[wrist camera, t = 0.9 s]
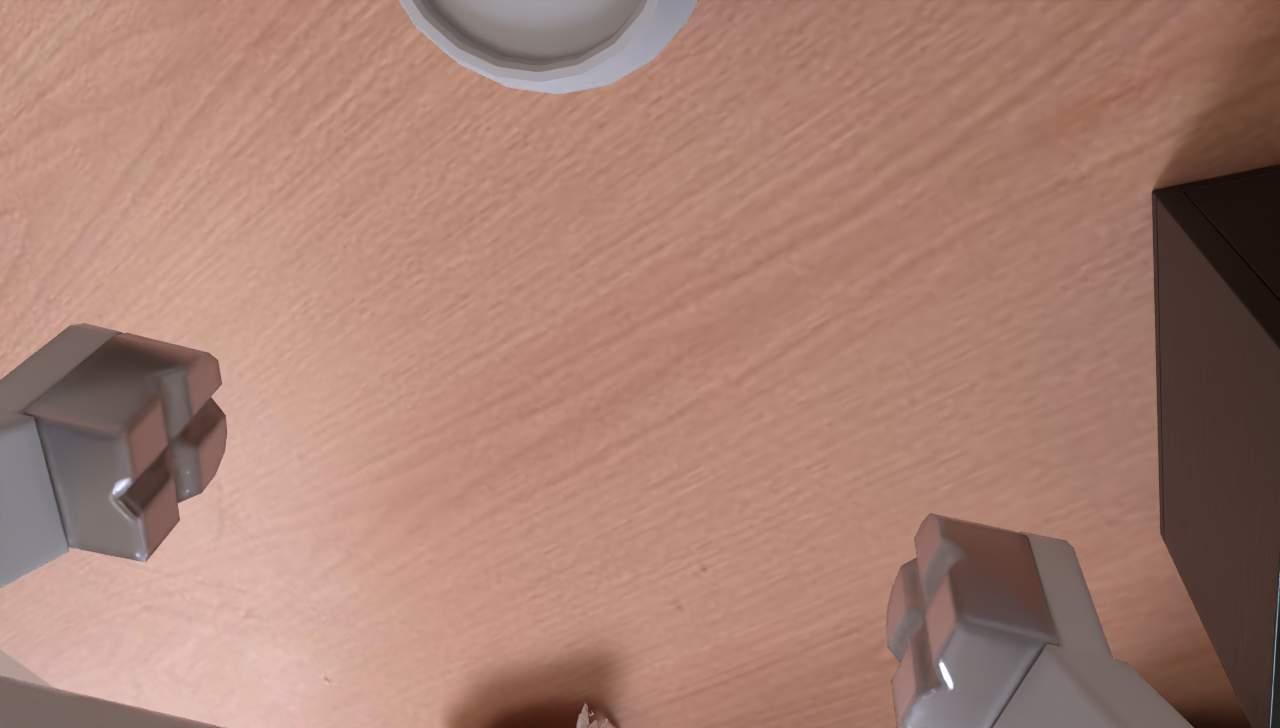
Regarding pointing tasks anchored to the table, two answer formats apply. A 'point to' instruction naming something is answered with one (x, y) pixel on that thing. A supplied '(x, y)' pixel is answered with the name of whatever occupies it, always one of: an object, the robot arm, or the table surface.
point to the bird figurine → (587, 720)
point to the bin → (1223, 416)
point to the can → (551, 38)
